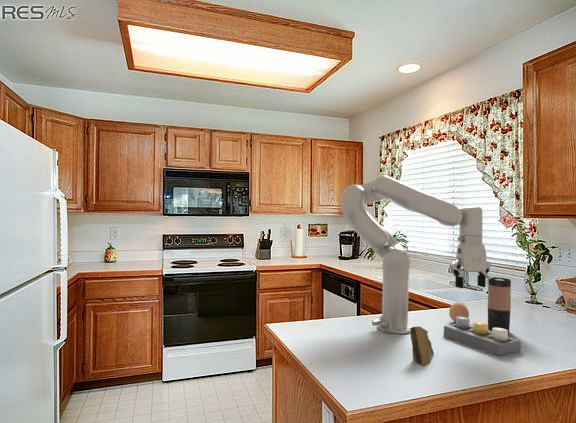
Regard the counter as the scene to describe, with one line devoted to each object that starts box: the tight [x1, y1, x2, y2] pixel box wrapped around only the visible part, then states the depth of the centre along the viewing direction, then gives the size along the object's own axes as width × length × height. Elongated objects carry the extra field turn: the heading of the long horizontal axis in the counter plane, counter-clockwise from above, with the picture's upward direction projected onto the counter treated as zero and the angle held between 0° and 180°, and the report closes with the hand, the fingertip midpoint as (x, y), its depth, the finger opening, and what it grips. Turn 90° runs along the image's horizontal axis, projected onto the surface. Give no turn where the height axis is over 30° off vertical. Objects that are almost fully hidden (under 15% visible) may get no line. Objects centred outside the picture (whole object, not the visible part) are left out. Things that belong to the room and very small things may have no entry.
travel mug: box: [487, 276, 512, 334], centre depth 142 cm, size 8×8×20 cm
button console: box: [443, 323, 522, 357], centre depth 127 cm, size 11×21×4 cm, turn 27°
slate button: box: [455, 317, 470, 329], centre depth 133 cm, size 4×4×3 cm
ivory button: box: [492, 328, 509, 342], centre depth 120 cm, size 4×4×3 cm
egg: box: [449, 301, 470, 323], centre depth 150 cm, size 7×7×8 cm
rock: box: [410, 326, 435, 367], centre depth 111 cm, size 11×9×10 cm
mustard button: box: [472, 321, 488, 335], centre depth 127 cm, size 4×4×3 cm
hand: (470, 287), depth 134 cm, fingers open, 9 cm apart
